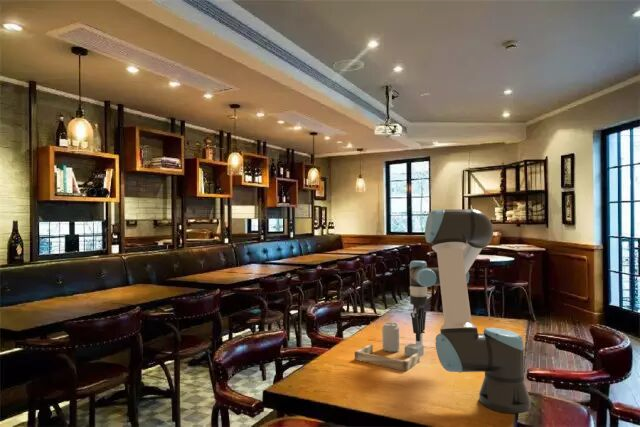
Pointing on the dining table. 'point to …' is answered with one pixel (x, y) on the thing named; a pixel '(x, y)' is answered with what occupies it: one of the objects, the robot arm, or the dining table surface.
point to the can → (390, 337)
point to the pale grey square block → (414, 350)
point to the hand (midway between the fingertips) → (419, 347)
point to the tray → (386, 359)
